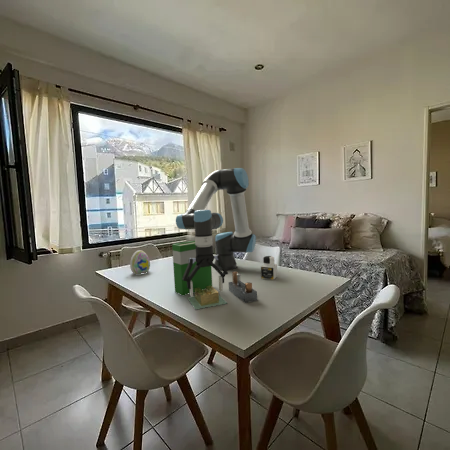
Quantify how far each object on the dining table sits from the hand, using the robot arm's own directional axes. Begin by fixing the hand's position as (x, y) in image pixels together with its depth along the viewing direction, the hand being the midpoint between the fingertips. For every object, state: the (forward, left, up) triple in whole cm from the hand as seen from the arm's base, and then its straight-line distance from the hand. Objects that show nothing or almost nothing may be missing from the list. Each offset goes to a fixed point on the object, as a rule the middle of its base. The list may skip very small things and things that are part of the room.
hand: (206, 293), depth 112 cm
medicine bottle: (-16, +42, -4) cm, 45 cm away
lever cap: (0, 0, -3) cm, 3 cm away
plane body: (0, +17, -4) cm, 17 cm away
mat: (0, 0, -4) cm, 4 cm away
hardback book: (-18, -1, -4) cm, 19 cm away
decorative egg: (-66, -24, -4) cm, 70 cm away
